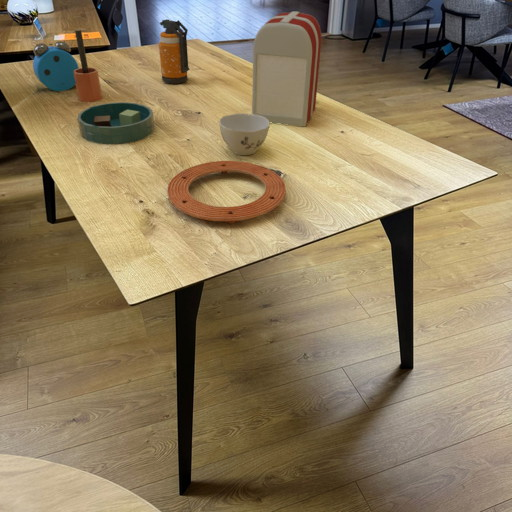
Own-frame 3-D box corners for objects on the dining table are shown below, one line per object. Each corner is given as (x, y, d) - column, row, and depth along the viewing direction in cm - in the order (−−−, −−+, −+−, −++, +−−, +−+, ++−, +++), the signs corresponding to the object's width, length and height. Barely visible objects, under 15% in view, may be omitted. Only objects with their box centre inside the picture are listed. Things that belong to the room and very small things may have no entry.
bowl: (70, 145, 124) (66, 126, 121) (94, 118, 140) (91, 101, 137) (145, 147, 123) (143, 128, 120) (160, 120, 139) (159, 103, 136)
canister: (174, 76, 176) (169, 16, 164) (197, 81, 170) (194, 20, 159) (157, 81, 170) (150, 19, 158) (180, 87, 165) (175, 24, 153)
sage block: (121, 128, 132) (118, 113, 130) (129, 123, 135) (127, 109, 133) (133, 130, 131) (131, 116, 129) (141, 125, 134) (139, 111, 132)
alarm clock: (77, 84, 165) (68, 37, 157) (83, 89, 161) (74, 41, 152) (38, 90, 159) (26, 42, 150) (43, 95, 155) (31, 46, 146)
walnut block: (96, 136, 127) (94, 121, 125) (97, 130, 130) (94, 116, 128) (112, 135, 128) (109, 120, 126) (112, 129, 131) (110, 115, 129)
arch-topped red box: (316, 107, 150) (325, 12, 134) (306, 127, 136) (315, 24, 121) (265, 102, 154) (268, 9, 138) (250, 121, 140) (251, 19, 124)
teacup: (274, 159, 119) (275, 128, 114) (224, 163, 116) (223, 132, 112) (260, 136, 131) (260, 107, 126) (214, 139, 128) (213, 110, 123)
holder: (75, 103, 150) (69, 73, 145) (83, 95, 156) (77, 67, 150) (98, 103, 150) (93, 74, 144) (105, 96, 156) (100, 67, 150)
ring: (267, 237, 91) (267, 226, 89) (147, 215, 96) (145, 204, 95) (297, 179, 110) (298, 169, 109) (195, 163, 116) (195, 154, 115)
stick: (86, 98, 152) (73, 30, 140) (88, 97, 153) (75, 29, 141) (92, 99, 152) (79, 30, 140) (94, 97, 153) (81, 29, 141)
